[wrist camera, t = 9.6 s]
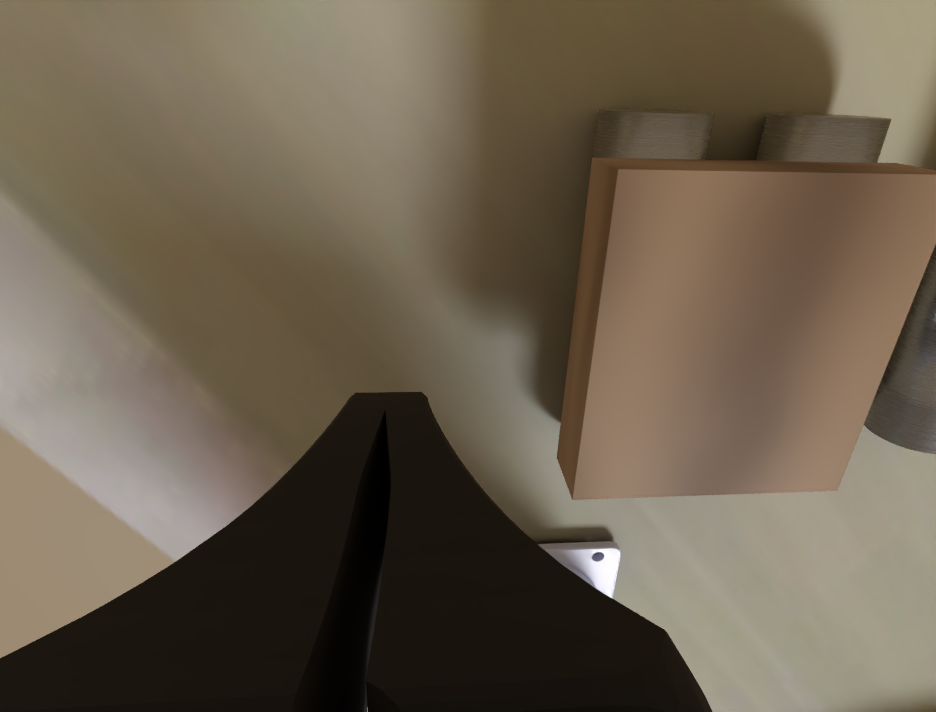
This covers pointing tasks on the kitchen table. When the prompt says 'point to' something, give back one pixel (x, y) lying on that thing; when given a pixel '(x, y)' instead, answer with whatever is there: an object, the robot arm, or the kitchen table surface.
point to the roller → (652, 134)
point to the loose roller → (911, 376)
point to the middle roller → (822, 138)
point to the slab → (735, 321)
